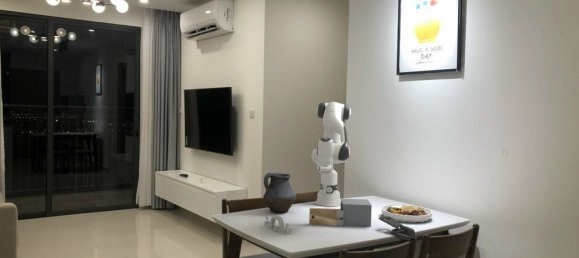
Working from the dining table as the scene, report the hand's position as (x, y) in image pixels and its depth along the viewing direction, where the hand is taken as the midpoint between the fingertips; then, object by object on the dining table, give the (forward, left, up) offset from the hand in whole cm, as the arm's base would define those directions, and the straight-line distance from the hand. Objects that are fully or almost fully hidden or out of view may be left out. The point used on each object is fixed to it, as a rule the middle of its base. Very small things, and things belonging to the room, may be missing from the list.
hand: (324, 191), depth 258 cm
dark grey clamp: (+14, +39, -19) cm, 45 cm away
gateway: (+15, -26, -20) cm, 36 cm away
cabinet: (-6, +17, -19) cm, 26 cm away
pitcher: (-27, -27, -19) cm, 43 cm away
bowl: (-23, +52, -20) cm, 60 cm away
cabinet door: (+1, +1, -19) cm, 19 cm away
